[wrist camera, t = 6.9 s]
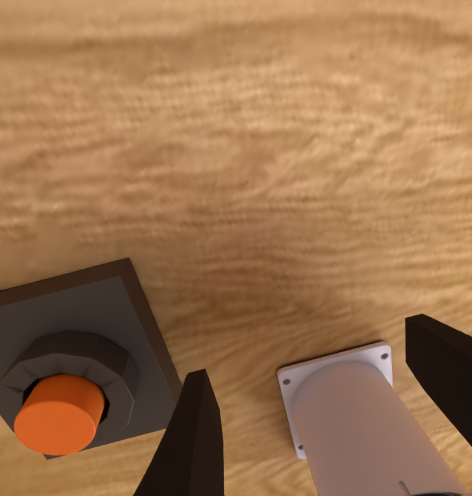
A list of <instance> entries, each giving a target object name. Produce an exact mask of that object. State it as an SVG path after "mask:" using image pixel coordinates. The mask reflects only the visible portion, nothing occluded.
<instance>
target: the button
mask: <svg viewBox="0 0 472 496" xmlns="http://www.w3.org/2000/svg"><path fill="white" fill-rule="evenodd" d="M104 406H105V398H104V395H103V392H102V391H101V389H100V388H99V387H98V385H96V384H95V383H94V382H92V381H91V380H89V379H87V378H85V377H83V376H79V375H72V374H57V375H53V376H49V377H47V378H45V379H43V380H42V381H40V382H39V383H38V384H37V385H36V386H35V387H34V389H33V391H32V392H31V394H30V395H29V397H28V399H27V400H26V402H25V403H24V405H23V407H22V408H21V410H20V412H19V413H18V415H17V416H16V418H15V422H14V431H15V434H16V436H17V438H18V439H19V440H20V442H21V443H23V444H24V445H25V446H26V447H28V448H30V449H31V450H34V451H36V452H39V453H42V454H47V455H67V454H72V453H75V452H78V451H80V450H82V449H83V448H85V447H86V446H87V445H88V444H89V443H90V442H91V441H92V440H93V438H94V436H95V433H96V430H97V427H98V424H99V421H100V418H101V415H102V412H103V409H104Z"/></svg>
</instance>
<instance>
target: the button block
mask: <svg viewBox="0 0 472 496" xmlns="http://www.w3.org/2000/svg"><path fill="white" fill-rule="evenodd" d="M57 374H72V375H79V376H83V377H85V378H87V379H89V380H91V381H92V382H94V383H95V384H96V385H98V387H99V388H100V389H101V391H102V392H103V395H104V398H105V406H104V409H103V412H102V415H101V418H100V421H99V424H98V427H97V430H96V433H95V436H94V438H93V440H92V441H91V442H90V443H89V444H88V445H87V446H86V447H85V448H83V449H82V450H80V451H83V450H86V449H90V448H94V447H98V446H101V445H105V444H109V443H113V442H117V441H120V440H124V439H128V438H132V437H136V436H139V435H143V434H147V433H151V432H155V431H158V430H162V429H166V428H167V426H168V424H169V421H170V419H171V417H172V414H173V412H174V409H175V407H176V404H177V401H178V399H179V396H180V393H181V390H182V385H181V382H180V380H179V377H178V375H177V373H176V370H175V368H174V365H173V363H172V361H171V358H170V356H169V353H168V351H167V348H166V346H165V344H164V341H163V339H162V336H161V334H160V332H159V329H158V327H157V324H156V322H155V319H154V317H153V315H152V312H151V310H150V307H149V305H148V302H147V300H146V298H145V295H144V293H143V290H142V288H141V286H140V283H139V281H138V278H137V276H136V273H135V271H134V269H133V266H132V264H131V261H130V259H129V258H126V259H122V260H118V261H114V262H110V263H107V264H103V265H99V266H95V267H91V268H87V269H84V270H80V271H76V272H72V273H68V274H64V275H60V276H57V277H53V278H49V279H45V280H41V281H37V282H34V283H30V284H26V285H22V286H18V287H14V288H10V289H7V290H3V291H0V415H1V417H2V418H3V419H4V420H5V422H6V423H7V424H8V426H9V427H10V428H11V430H12V431H13V432H14V433H15V431H14V422H15V418H16V416H17V415H18V413H19V412H20V410H21V408H22V407H23V405H24V403H25V402H26V400H27V399H28V397H29V395H30V394H31V392H32V391H33V389H34V387H35V386H36V385H37V384H38V383H39V382H40V381H42V380H43V379H45V378H47V377H49V376H53V375H57ZM78 452H79V451H78ZM43 455H44V456H45V457H46V459H47V460H48V459H52V458H56V457H60V456H64V455H47V454H43Z"/></svg>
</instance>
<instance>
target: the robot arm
mask: <svg viewBox="0 0 472 496" xmlns="http://www.w3.org/2000/svg"><path fill="white" fill-rule="evenodd" d="M405 334H406V363H407V365H408V367H409V368H410V370H411V371H412V373H413V374H414V376H415V377H416V379H417V380H418V382H419V383H420V385H421V386H422V388H423V389H424V390H425V392H426V393H427V394H428V395H429V396H430V398H431V399H432V400H433V401H434V402H435V404H436V405H437V406H438V407H439V408H440V410H441V411H442V412H443V413H444V414H445V416H446V417H447V418H448V419H449V420H450V422H451V423H452V424H453V425H454V426H455V427H456V429H457V430H458V431H459V432H460V433H461V434H462V436H463V437H464V438H465V439H466V440H467V442H468V443H469V444H470V445H471V446H472V337H471V336H469V335H467V334H465V333H463V332H461V331H459V330H456V329H454V328H452V327H450V326H448V325H446V324H444V323H442V322H440V321H437V320H435V319H433V318H431V317H429V316H426V315H424V314H419V315H415V316H411V317H407V318H405ZM382 354H383V355H382ZM277 376H278V381H279V385H280V389H281V393H282V397H283V401H284V405H285V409H286V413H287V418H288V422H289V426H290V430H291V434H292V438H293V442H294V446H295V450H296V454H297V457H298V458H299V459H306V458H307V461H308V464H309V468H310V471H311V474H312V477H313V480H314V484H315V487H316V490H317V493H318V496H472V492H471V493H468V491H467V490H466V489H465V487H464V486H463V484H462V483H461V482H460V480H459V479H458V477H457V476H456V475H455V473H454V472H453V470H452V469H451V468H450V466H449V465H448V464H447V462H446V461H445V459H444V458H443V457H442V455H441V454H440V452H439V451H438V450H437V448H436V447H435V445H434V444H433V443H432V441H431V440H430V438H429V437H428V436H427V434H426V433H425V432H424V430H423V429H422V427H421V426H420V425H419V423H418V422H417V420H416V419H415V418H414V416H413V415H412V413H411V412H410V411H409V409H408V408H407V406H406V405H405V404H404V402H403V401H402V400H401V398H400V397H399V395H398V394H397V393H396V391H395V390H394V388H393V383H392V361H391V347H390V345H389V344H388V343H387V342H384V341H383V342H378V343H374V344H370V345H367V346H363V347H359V348H355V349H351V350H348V351H344V352H340V353H336V354H332V355H329V356H325V357H321V358H317V359H313V360H310V361H306V362H302V363H298V364H294V365H291V366H287V367H283V368H281V369H279V370H278V372H277ZM285 379H288V380H285ZM133 496H224V457H223V434H222V425H221V417H220V409H219V406H218V404H217V401H216V398H215V395H214V392H213V389H212V386H211V383H210V380H209V377H208V375H207V372H206V369H202V370H198V371H194V372H190V373H188V374H187V376H186V378H185V382H184V385H183V387H182V390H181V393H180V396H179V399H178V401H177V404H176V407H175V409H174V412H173V414H172V417H171V419H170V421H169V424H168V426H167V429H166V431H165V433H164V436H163V438H162V440H161V442H160V444H159V446H158V448H157V450H156V453H155V455H154V457H153V459H152V461H151V463H150V465H149V467H148V469H147V471H146V473H145V475H144V477H143V479H142V480H141V482H140V484H139V486H138V488H137V489H136V491H135V493H134V495H133Z"/></svg>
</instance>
